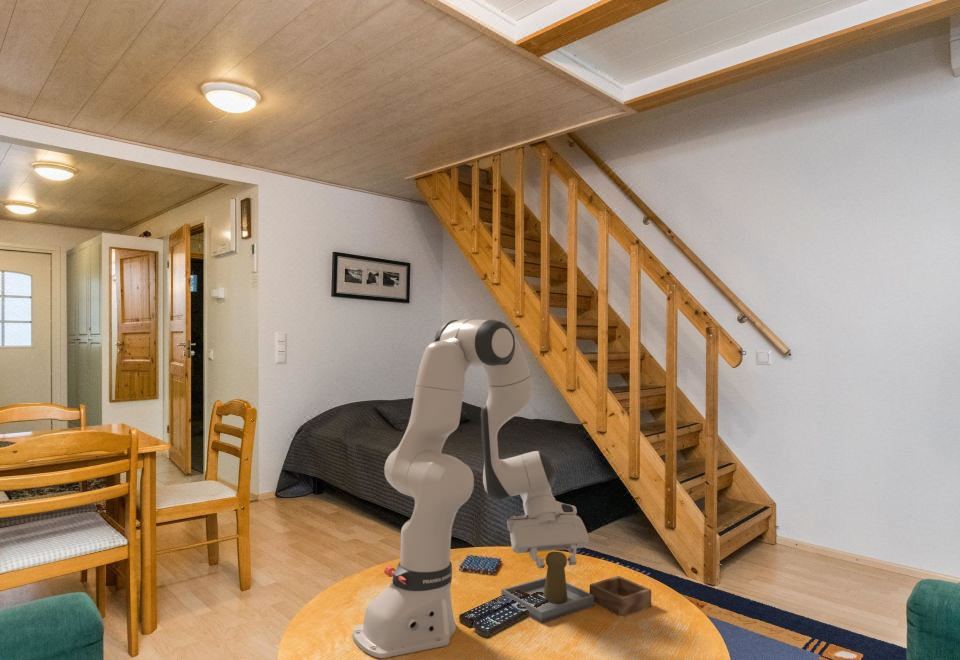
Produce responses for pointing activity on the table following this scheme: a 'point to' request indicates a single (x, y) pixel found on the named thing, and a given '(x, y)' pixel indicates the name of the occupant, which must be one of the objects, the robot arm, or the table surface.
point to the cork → (555, 578)
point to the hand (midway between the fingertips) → (557, 565)
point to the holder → (632, 592)
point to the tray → (551, 611)
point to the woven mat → (480, 564)
